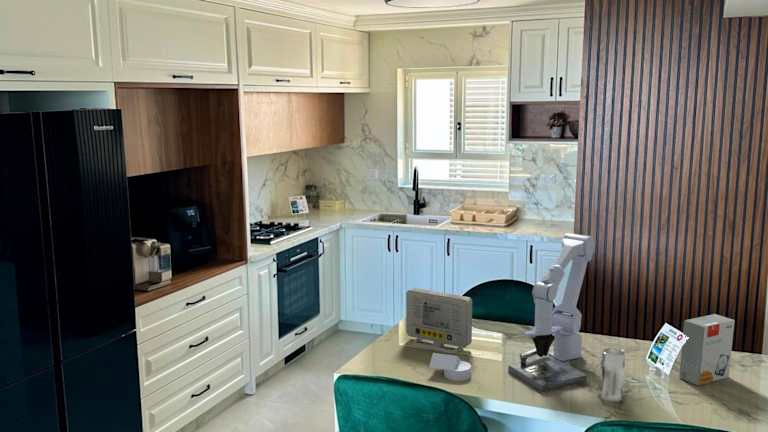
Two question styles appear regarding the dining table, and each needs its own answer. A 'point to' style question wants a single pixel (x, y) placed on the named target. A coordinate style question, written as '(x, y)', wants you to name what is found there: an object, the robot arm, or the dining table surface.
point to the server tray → (547, 374)
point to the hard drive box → (706, 349)
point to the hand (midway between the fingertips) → (542, 355)
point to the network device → (439, 319)
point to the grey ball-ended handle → (528, 354)
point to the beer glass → (612, 373)
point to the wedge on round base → (451, 366)
